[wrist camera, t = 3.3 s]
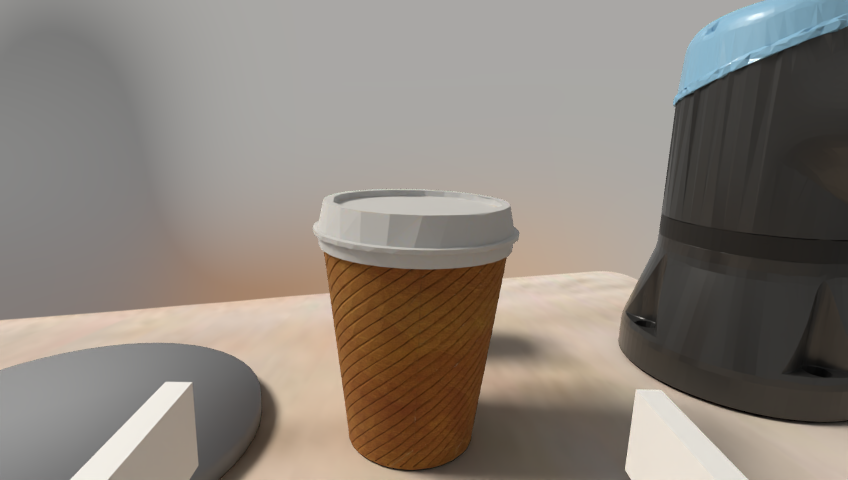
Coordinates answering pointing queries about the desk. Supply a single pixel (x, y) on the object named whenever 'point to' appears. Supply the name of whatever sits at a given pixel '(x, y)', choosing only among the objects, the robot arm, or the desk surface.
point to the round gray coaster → (120, 406)
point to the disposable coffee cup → (413, 314)
